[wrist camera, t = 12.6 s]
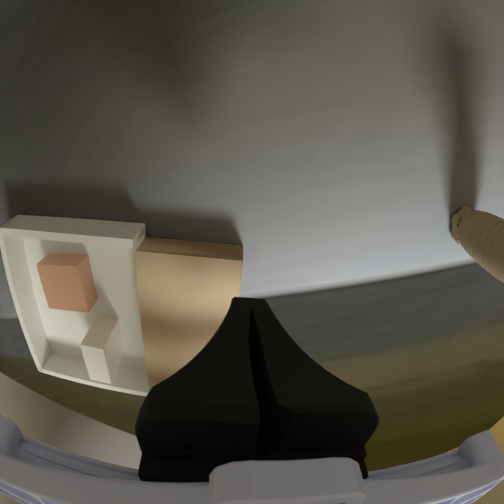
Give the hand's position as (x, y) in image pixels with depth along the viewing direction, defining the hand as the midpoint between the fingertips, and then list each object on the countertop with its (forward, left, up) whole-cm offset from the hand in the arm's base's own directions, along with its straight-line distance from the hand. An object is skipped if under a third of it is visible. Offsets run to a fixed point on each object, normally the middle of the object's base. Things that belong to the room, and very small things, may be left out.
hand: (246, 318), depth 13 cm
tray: (-8, +13, -10) cm, 18 cm away
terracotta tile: (-5, +14, -8) cm, 16 cm away
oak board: (-8, +4, -10) cm, 13 cm away
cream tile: (-10, +10, -8) cm, 16 cm away
